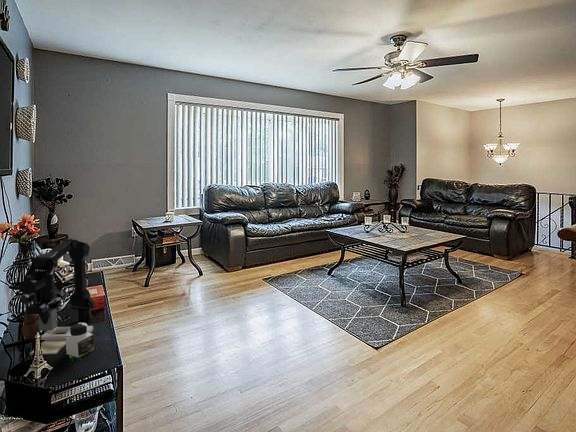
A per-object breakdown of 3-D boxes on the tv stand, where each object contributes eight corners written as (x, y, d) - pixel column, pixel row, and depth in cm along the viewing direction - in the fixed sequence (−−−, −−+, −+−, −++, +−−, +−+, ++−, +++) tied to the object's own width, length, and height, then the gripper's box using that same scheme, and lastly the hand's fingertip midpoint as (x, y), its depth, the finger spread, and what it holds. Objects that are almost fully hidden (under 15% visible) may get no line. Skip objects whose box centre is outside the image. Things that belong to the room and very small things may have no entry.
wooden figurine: (30, 342, 149) (27, 309, 146) (19, 340, 150) (16, 308, 148) (44, 334, 155) (41, 303, 153) (34, 333, 156) (31, 302, 154)
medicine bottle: (78, 358, 137) (77, 330, 136) (66, 354, 140) (64, 327, 138) (94, 349, 144) (92, 322, 142) (82, 346, 146) (80, 319, 145)
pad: (43, 342, 148) (43, 341, 148) (68, 341, 150) (68, 340, 150) (29, 355, 139) (29, 353, 139) (55, 353, 140) (55, 352, 140)
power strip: (52, 331, 159) (52, 325, 158) (93, 329, 161) (93, 324, 160) (41, 340, 150) (40, 335, 149) (84, 339, 152) (84, 333, 152)
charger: (44, 326, 145) (43, 304, 144) (57, 326, 146) (56, 304, 145) (39, 330, 141) (37, 308, 140) (52, 330, 142) (50, 308, 141)
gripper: (38, 279, 149) (40, 313, 151) (9, 294, 131) (12, 332, 133) (65, 278, 151) (67, 312, 153) (40, 293, 132) (42, 331, 134)
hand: (48, 321), depth 143 cm, fingers closed on charger, 4 cm apart
